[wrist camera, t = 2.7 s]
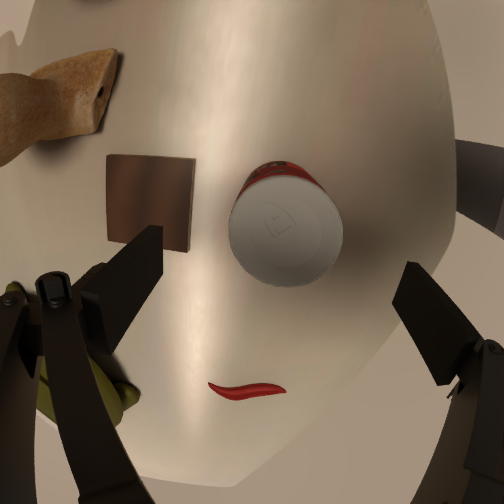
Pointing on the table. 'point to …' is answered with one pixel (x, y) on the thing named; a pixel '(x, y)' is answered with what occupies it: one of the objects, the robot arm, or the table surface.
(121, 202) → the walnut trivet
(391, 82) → the table surface
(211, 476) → the table surface
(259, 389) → the cayenne pepper
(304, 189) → the canned food
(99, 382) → the spaceship
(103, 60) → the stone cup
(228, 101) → the table surface
